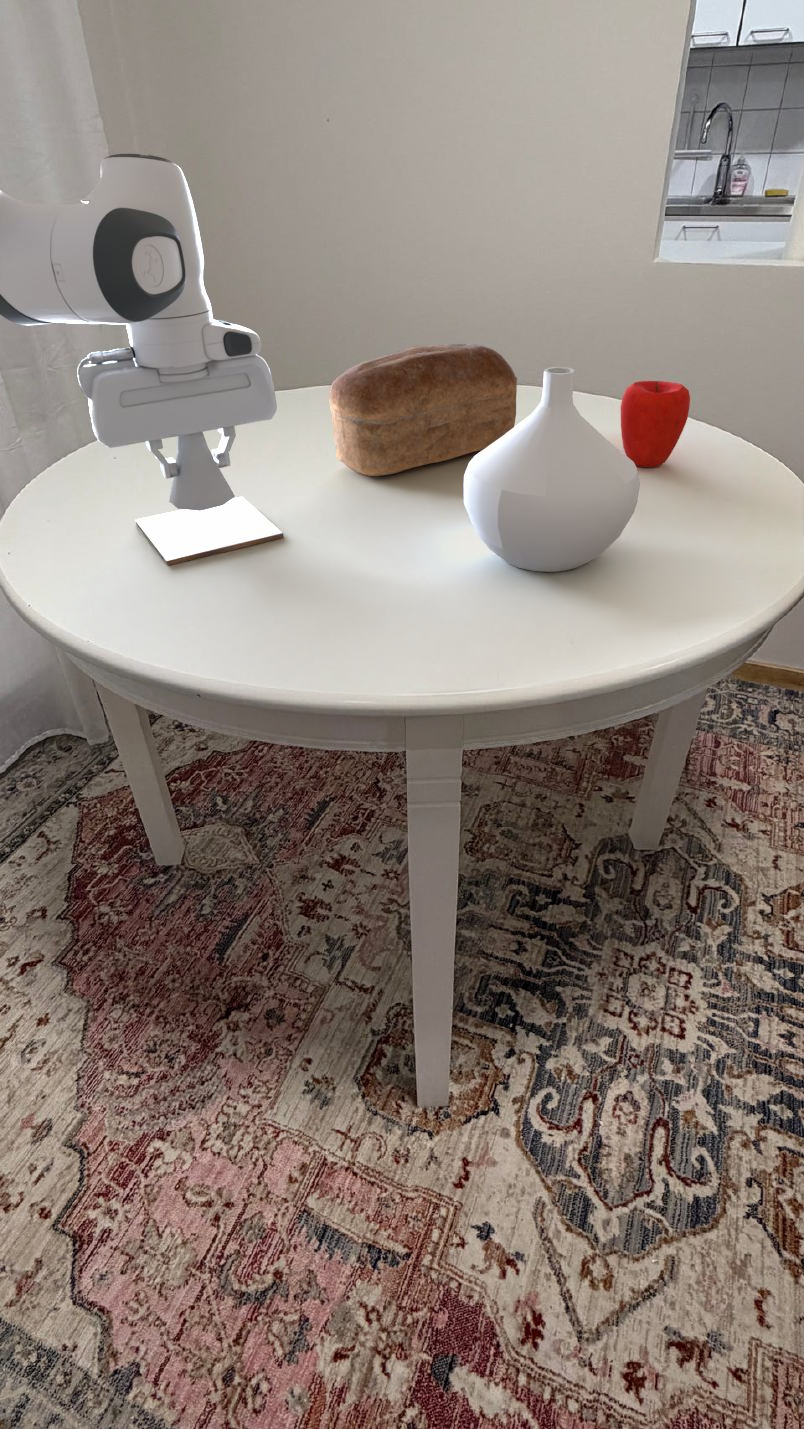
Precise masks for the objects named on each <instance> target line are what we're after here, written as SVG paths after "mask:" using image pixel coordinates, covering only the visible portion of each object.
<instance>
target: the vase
mask: <svg viewBox="0 0 804 1429" xmlns="http://www.w3.org/2000/svg"><path fill="white" fill-rule="evenodd" d="M575 373H576V370H575V369H574V368H571V367H567V366H551V367H547V368H545V369H544V370H543V382H542V394H541V399H540V402H539V404H538V405H537V406H536V408H535V409H534V410H533V411H532V413H531V414H529V415H527V417H525V418H524V419H523V420H521V421H520V422H518V424H515V425H514V428H513V429H511V430H510V431H509V432H507V433H506V434H505V435H503V436H502V437H501V438H499V439H498V440H496V441H495V442H494V443H492V444H491V445H489V446H488V447H487V448H485V449H484V450H480V452H478V453H477V454H475V455H474V456H473V457H472V458H471V460H470V461H469V462H468V464H467V467H466V469H465V472H464V474H463V504H464V505H463V506H464V507H465V510H466V512H467V515H468V517H469V520H470V522H471V524H472V527H473V529H474V531H475V532H476V534H477V536H478V537H479V538H480V539H481V541H483V543H484V544H485V546H486V547H487V548H488V550H489V551H491V552H492V553H493V554H495V555H496V556H498V557H499V558H500V559H502V560H503V561H504V562H506V563H507V564H510V565H511V566H514V567H516V568H518V569H519V568H520V569H524V570H526V571H533V572H543V573H545V572H546V573H548V572H549V573H555V572H565V571H569V570H573V569H577V568H579V567H581V566H583V565H585V564H587V563H589V562H591V561H593V560H595V559H596V558H598V557H599V556H600V555H602V554H603V553H604V552H605V551H606V550H607V549H608V548H609V547H610V546H611V545H613V543H614V542H615V541H617V540H618V539H619V538H620V536H621V534H622V533H623V532H624V529H625V528H626V526H627V525H628V523H629V521H630V520H631V518H632V516H633V515H634V513H635V511H636V507H637V503H638V500H639V495H640V490H641V489H640V488H641V480H640V475H639V471H638V468H637V466H636V465H635V464H634V462H633V461H632V460H631V459H629V458H628V457H627V456H626V454H625V453H624V452H623V451H621V450H620V449H619V448H618V447H617V446H615V444H613V443H612V442H610V441H609V440H608V439H607V438H606V437H605V436H604V435H602V433H601V432H600V431H598V430H597V428H595V427H594V426H593V425H592V424H591V423H590V422H589V421H588V420H587V419H586V418H584V416H582V414H580V412H579V410H578V409H577V407H576V406H575V404H574V400H573V399H574V398H573V395H574V394H573V393H574V384H575V383H574V382H575Z"/></svg>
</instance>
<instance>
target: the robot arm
mask: <svg viewBox="0 0 804 1429" xmlns="http://www.w3.org/2000/svg"><path fill="white" fill-rule="evenodd" d="M100 161H101V162H100V164H99V166H100V168H99V174H100V176H99V178H100V179H99V181H98V182H97V184H96V186H95V187H94V188H93V190H92V191H91V192H90V193H89V194H87V195H86V197H83V198H82V199H81V200H80V202H77V203H71V204H67V203H66V204H65V203H64V204H61V203H60V204H35V203H30V202H26V201H23V200H20V199H18V198H16V197H13V196H11V195H9V194H7V193H5V192H4V191H3V190H1V189H0V316H1V317H3V318H4V319H6V320H8V321H9V322H12V323H14V324H17V325H21V326H37V325H38V326H39V325H50V324H51V325H52V324H59V323H61V324H62V323H63V324H64V323H65V324H84V325H85V324H89V325H100V324H101V325H102V324H103V325H104V324H105V325H126V330H127V335H128V339H129V344H130V346H129V347H124V348H122V347H121V348H116V349H112V350H109V351H94V352H91V353H88V354H87V357H85V358H84V359H82V360H81V361H80V363H79V364H78V366H77V373H76V374H77V380H78V383H79V386H80V390H81V392H82V394H83V395H84V396H85V397H86V398H87V399H88V407H89V416H90V422H91V426H92V431H93V434H94V436H95V438H96V440H97V441H98V442H99V443H101V444H102V445H103V446H105V447H106V448H108V449H114V448H119V447H125V446H130V445H135V444H136V445H137V444H142V443H145V447H146V448H147V449H148V450H149V451H150V453H152V455H153V456H154V457H155V459H157V460H158V462H159V465H160V471H161V473H162V476H163V478H164V479H171V478H172V479H173V477H177V476H179V474H178V471H177V470H176V469H177V464H176V459H174V458H173V457H168V458H166V457H165V456H164V455H163V454H162V452H161V451H159V450H163V449H164V446H163V441H162V440H164V439H165V440H166V439H170V438H176V437H177V436H181V435H187V434H193V433H198V432H203V433H204V432H209V431H215V430H217V432H218V434H220V435H221V439H220V441H219V444H218V448H216V449H215V448H214V449H211V454H212V456H213V458H214V460H215V461H216V463H217V465H218V467H219V469H222V468H228V467H231V459H230V451H231V449H232V448H233V444H234V441H235V438H236V436H237V435H236V426H243V425H248V424H254V423H260V422H264V421H270V420H272V419H274V416H275V414H276V412H277V411H278V410H277V409H278V404H277V396H276V392H275V386H274V380H273V377H272V373H271V370H270V366H269V365H268V363H267V361H266V360H265V359H264V358H263V357H262V356H260V355H258V354H259V353H261V349H262V342H261V338H260V335H259V334H258V333H257V332H255V331H253V330H252V329H250V328H247V327H245V326H242V325H239V324H235V323H230V322H228V321H225V320H221V319H217V320H216V319H214V318H213V317H214V316H213V310H212V305H211V301H210V299H209V296H208V294H207V292H206V288H205V283H204V266H205V259H204V252H203V244H202V240H201V235H200V229H199V224H198V219H197V215H196V211H195V207H194V202H193V198H192V195H191V190H190V188H189V186H188V185H189V184H188V182H187V180H186V177H185V175H184V172H183V170H182V168H181V167H179V166H180V165H177V164H176V163H174V162H173V161H172V160H169V159H167V158H165V157H161V156H157V155H151V154H140V153H117V154H111V155H108V156H106V157H104V158H103V159H101V160H100ZM81 202H82V203H81Z"/></svg>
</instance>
